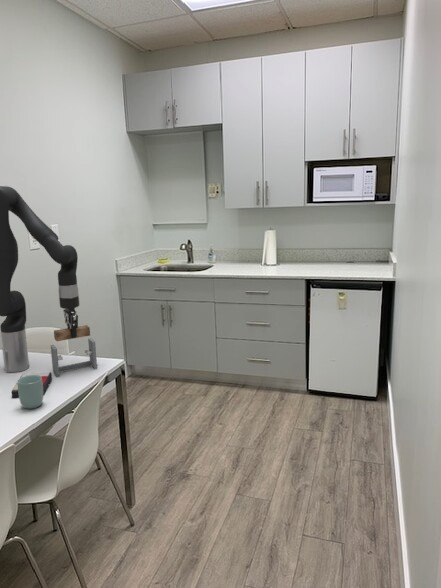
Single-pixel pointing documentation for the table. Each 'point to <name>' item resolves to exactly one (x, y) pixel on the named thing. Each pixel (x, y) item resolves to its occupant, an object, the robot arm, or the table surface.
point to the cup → (30, 391)
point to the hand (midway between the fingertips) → (72, 335)
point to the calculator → (45, 379)
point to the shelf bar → (66, 334)
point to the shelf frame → (92, 362)
